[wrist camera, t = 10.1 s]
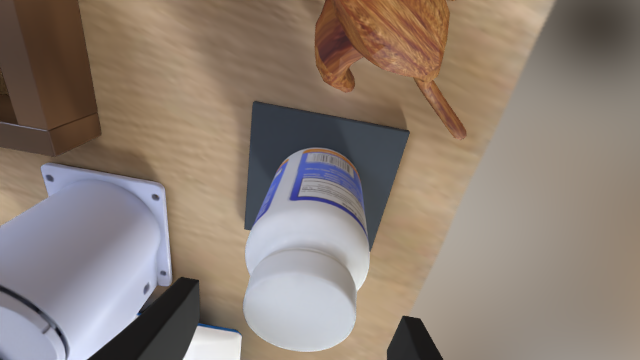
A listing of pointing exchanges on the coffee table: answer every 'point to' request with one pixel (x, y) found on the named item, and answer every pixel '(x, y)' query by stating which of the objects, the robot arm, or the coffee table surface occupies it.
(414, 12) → the cat figurine
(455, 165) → the coffee table surface
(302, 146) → the mat
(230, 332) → the plate
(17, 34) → the rack
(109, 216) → the robot arm
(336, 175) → the pill bottle
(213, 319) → the coffee table surface
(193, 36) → the coffee table surface
